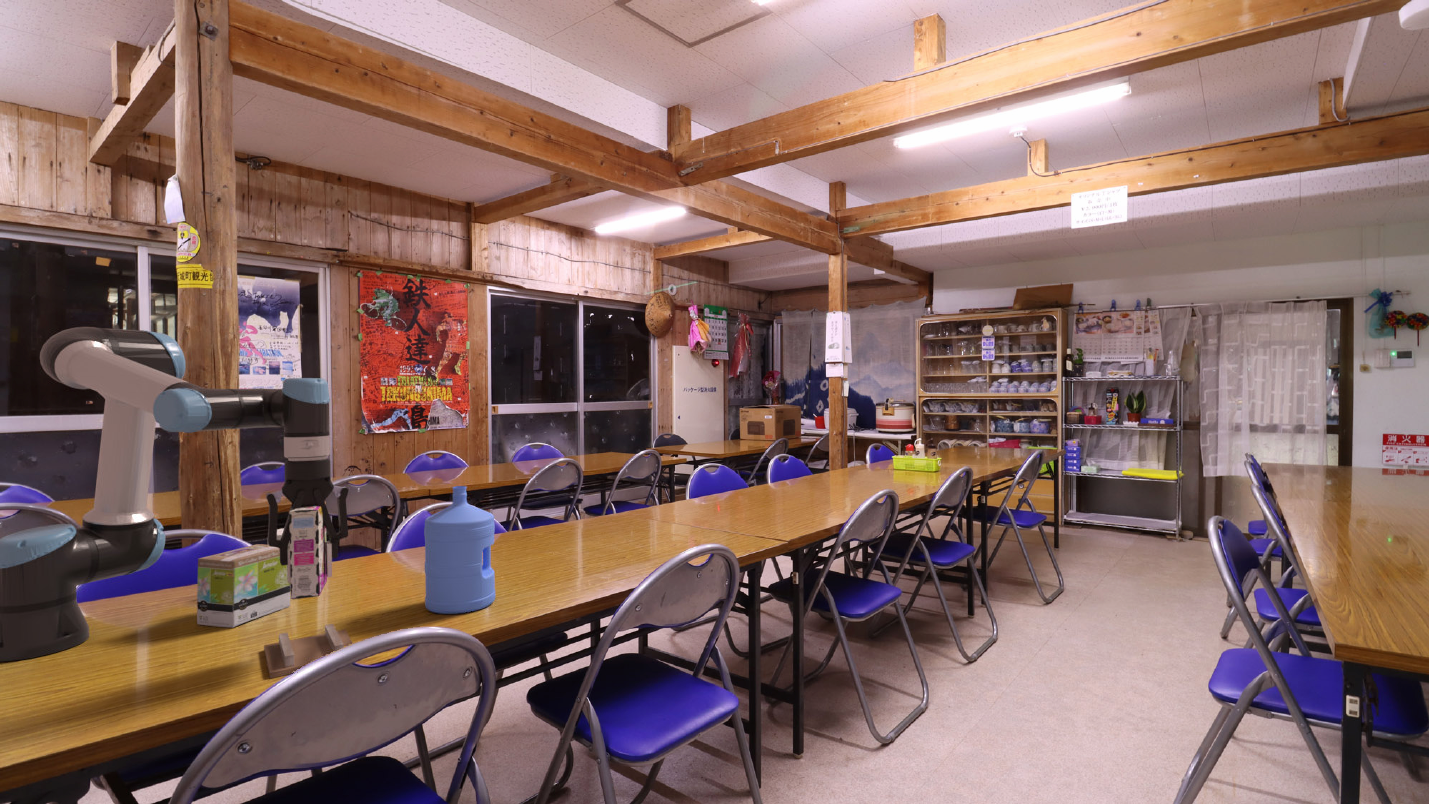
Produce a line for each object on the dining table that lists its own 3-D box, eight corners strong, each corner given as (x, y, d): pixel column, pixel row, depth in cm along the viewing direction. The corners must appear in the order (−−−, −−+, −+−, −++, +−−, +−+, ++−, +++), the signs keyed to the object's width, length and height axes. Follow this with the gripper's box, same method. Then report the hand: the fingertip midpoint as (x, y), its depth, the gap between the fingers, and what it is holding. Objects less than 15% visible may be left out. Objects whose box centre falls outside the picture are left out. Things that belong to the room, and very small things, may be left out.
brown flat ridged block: (269, 678, 117) (269, 661, 117) (264, 650, 130) (264, 635, 130) (358, 658, 126) (358, 643, 126) (345, 634, 138) (344, 619, 138)
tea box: (234, 629, 142) (233, 560, 142) (196, 625, 144) (194, 558, 144) (292, 606, 157) (291, 544, 156) (256, 603, 159) (255, 542, 158)
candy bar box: (321, 596, 123) (318, 509, 123) (290, 600, 121) (287, 511, 121) (329, 581, 134) (326, 500, 133) (300, 584, 132) (297, 502, 131)
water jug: (438, 620, 146) (437, 494, 146) (416, 603, 158) (414, 486, 158) (506, 605, 157) (505, 487, 156) (480, 590, 168) (479, 480, 168)
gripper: (248, 463, 118) (251, 592, 119) (365, 456, 130) (367, 574, 130) (247, 460, 124) (249, 582, 125) (358, 453, 136) (360, 566, 136)
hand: (309, 578), depth 127 cm, fingers closed on candy bar box, 6 cm apart
